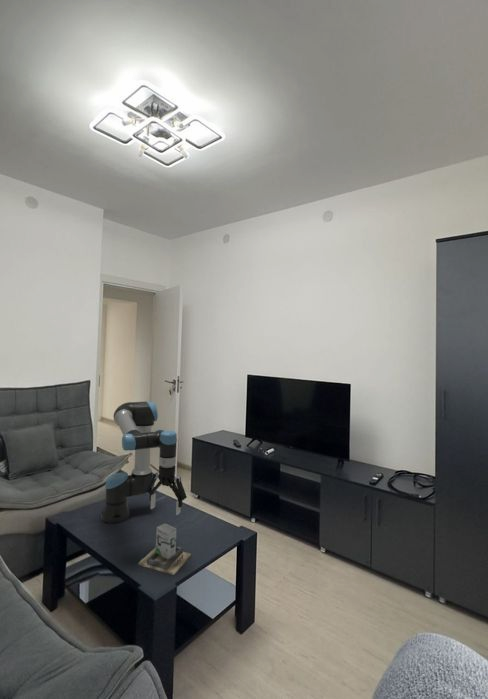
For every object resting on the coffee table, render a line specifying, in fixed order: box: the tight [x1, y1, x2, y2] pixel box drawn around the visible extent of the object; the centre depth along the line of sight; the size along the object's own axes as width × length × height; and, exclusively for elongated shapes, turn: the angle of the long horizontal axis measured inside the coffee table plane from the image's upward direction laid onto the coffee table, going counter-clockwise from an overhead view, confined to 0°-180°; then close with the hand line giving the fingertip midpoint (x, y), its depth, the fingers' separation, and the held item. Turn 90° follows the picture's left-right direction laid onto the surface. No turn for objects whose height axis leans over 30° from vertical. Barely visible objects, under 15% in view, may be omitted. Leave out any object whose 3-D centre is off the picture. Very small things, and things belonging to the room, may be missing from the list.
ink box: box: [155, 522, 177, 559], centre depth 157 cm, size 9×5×12 cm, turn 56°
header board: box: [138, 546, 192, 576], centre depth 157 cm, size 18×15×3 cm
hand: (165, 510), depth 161 cm, fingers open, 13 cm apart
